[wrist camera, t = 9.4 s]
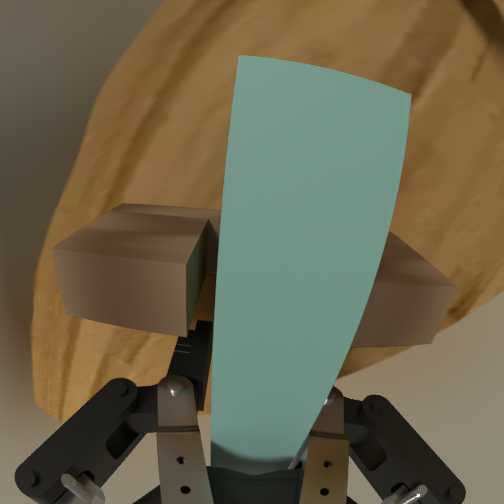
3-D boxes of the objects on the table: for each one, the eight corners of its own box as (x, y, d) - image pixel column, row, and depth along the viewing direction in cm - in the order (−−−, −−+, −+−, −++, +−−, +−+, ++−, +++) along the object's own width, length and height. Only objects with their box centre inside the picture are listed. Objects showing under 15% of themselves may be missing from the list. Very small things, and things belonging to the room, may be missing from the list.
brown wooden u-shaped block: (391, 232, 14) (457, 287, 8) (378, 275, 15) (430, 343, 9) (122, 203, 13) (52, 248, 7) (124, 250, 14) (66, 314, 8)
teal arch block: (245, 113, 11) (239, 55, 3) (303, 121, 11) (411, 94, 3) (224, 334, 16) (210, 477, 8) (268, 338, 16) (280, 480, 8)
